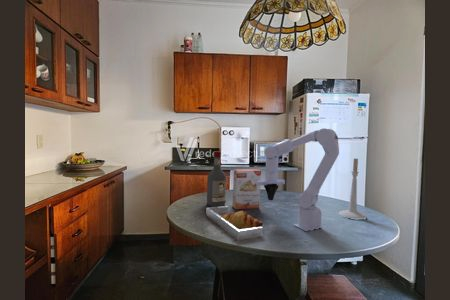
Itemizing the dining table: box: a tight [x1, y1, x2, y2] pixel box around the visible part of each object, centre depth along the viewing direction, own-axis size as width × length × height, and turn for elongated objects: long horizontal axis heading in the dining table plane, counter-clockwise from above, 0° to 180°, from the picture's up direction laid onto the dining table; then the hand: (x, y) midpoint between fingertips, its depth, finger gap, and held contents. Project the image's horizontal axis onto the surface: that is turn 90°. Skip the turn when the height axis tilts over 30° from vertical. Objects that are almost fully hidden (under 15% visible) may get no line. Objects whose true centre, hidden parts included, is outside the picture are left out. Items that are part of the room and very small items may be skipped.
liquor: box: [206, 150, 227, 207], centre depth 148 cm, size 9×9×30 cm
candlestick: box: [338, 158, 367, 218], centre depth 133 cm, size 13×13×30 cm
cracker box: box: [232, 168, 262, 210], centre depth 144 cm, size 14×6×21 cm, turn 105°
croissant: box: [219, 210, 263, 230], centre depth 116 cm, size 21×10×8 cm, turn 68°
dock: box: [205, 205, 264, 241], centre depth 117 cm, size 11×33×4 cm, turn 25°
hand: (270, 199), depth 125 cm, fingers closed
